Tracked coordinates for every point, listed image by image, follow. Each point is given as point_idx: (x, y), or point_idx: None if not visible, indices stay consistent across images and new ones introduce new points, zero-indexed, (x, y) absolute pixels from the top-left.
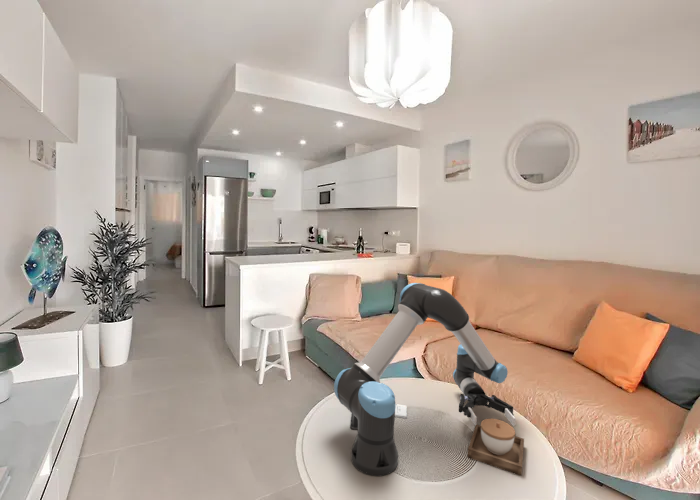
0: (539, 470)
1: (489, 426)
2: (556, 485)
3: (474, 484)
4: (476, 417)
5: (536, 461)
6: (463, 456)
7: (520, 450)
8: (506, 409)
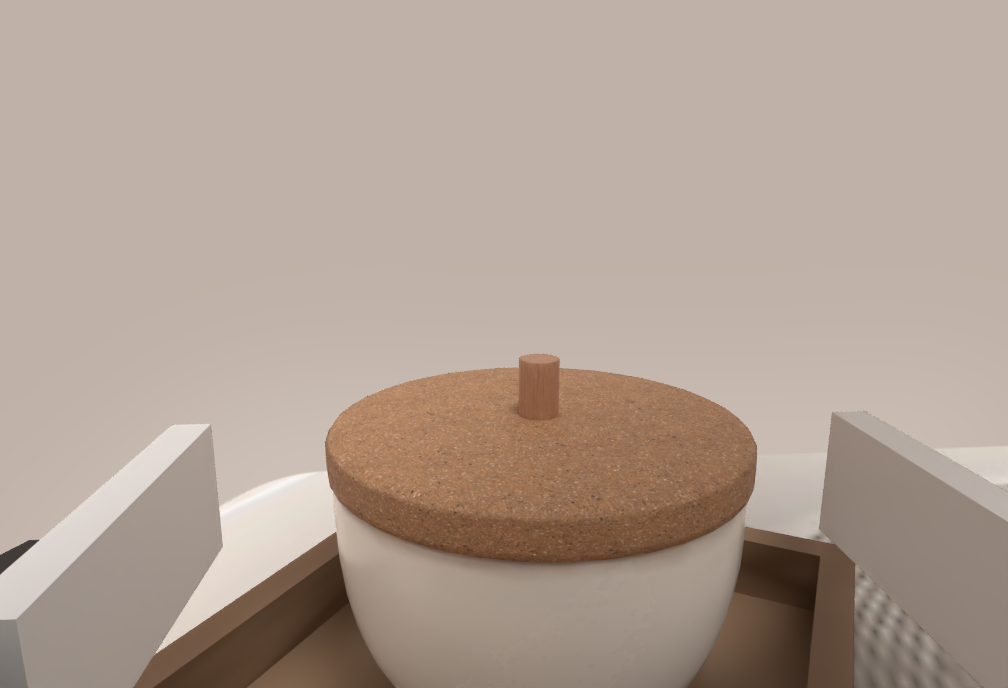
0: (250, 568)
1: (645, 414)
2: (250, 501)
3: (760, 484)
4: (838, 413)
5: (175, 635)
6: (885, 636)
7: (319, 563)
8: (47, 574)
